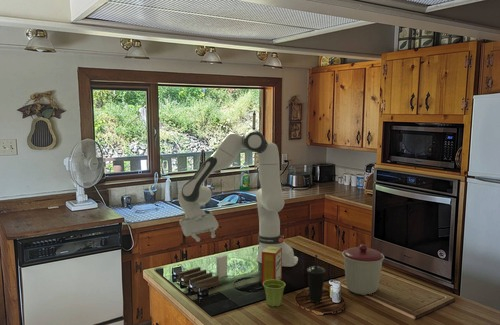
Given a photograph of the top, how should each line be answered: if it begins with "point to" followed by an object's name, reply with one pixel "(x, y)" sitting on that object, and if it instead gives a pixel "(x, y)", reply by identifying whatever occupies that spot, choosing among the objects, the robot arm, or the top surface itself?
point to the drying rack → (198, 278)
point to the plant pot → (274, 292)
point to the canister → (362, 269)
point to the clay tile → (221, 265)
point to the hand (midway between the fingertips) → (206, 239)
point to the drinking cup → (315, 281)
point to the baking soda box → (272, 263)
